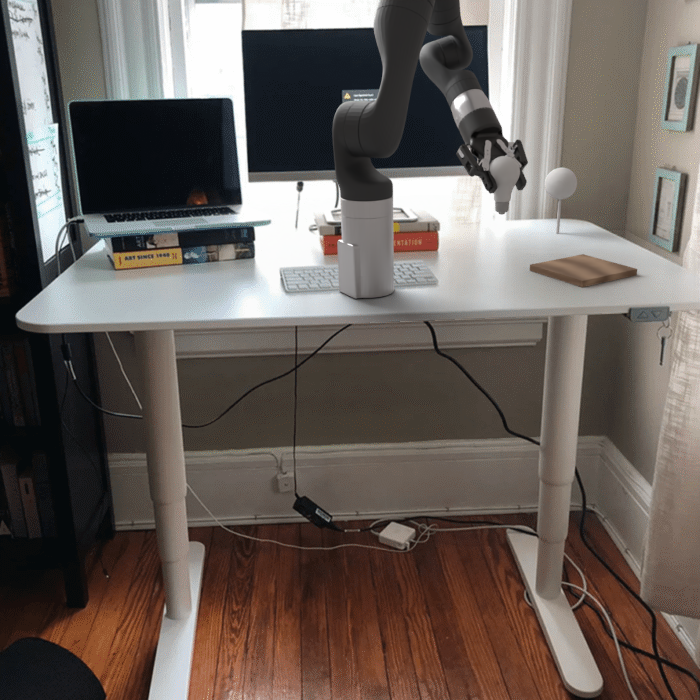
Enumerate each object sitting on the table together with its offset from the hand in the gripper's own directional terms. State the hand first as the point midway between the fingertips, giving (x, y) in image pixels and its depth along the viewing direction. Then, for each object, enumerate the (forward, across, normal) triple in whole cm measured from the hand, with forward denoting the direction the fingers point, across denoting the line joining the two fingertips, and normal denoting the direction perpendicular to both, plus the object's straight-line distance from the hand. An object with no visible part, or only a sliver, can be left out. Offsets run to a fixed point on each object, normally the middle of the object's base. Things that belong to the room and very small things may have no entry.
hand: (508, 189), depth 150 cm
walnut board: (+17, +12, +5) cm, 22 cm away
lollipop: (-4, +30, +26) cm, 40 cm away
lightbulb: (+3, 0, +5) cm, 6 cm away
